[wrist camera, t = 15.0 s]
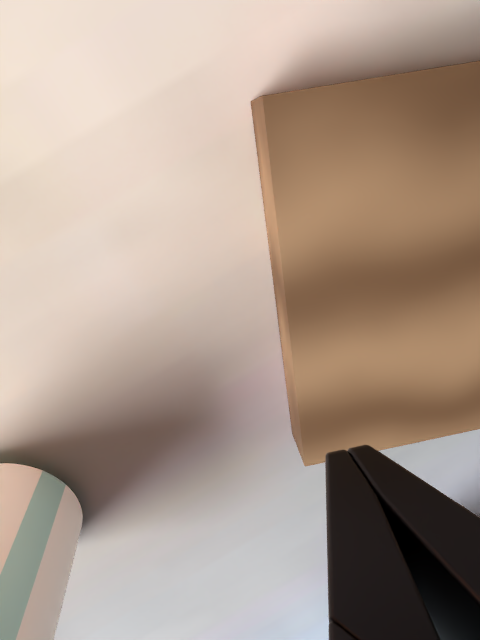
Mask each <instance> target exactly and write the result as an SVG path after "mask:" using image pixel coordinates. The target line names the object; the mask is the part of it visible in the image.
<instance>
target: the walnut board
mask: <svg viewBox="0 0 480 640" xmlns="http://www.w3.org/2000/svg"><path fill="white" fill-rule="evenodd" d="M251 107H252V115H253V123H254V131H255V139H256V147H257V155H258V163H259V171H260V179H261V187H262V195H263V203H264V211H265V219H266V227H267V235H268V243H269V251H270V259H271V267H272V275H273V283H274V291H275V299H276V307H277V315H278V323H279V331H280V339H281V347H282V355H283V363H284V371H285V379H286V387H287V395H288V403H289V411H290V419H291V427H292V434H293V437H294V439H295V442H296V444H297V447H298V450H299V452H300V455H301V458H302V460H303V463H304V465H305V466H310V465H314V464H319V463H323V462H325V456H326V454H327V453H329V452H333V451H338V450H342V449H344V450H346V451H347V450H348V449H349V448H352V447H356V446H361V445H369V446H371V447H373V448H374V449H376V450H377V451H379V450H384V449H388V448H393V447H398V446H402V445H407V444H412V443H416V442H421V441H426V440H430V439H435V438H439V437H444V436H449V435H453V434H458V433H463V432H467V431H472V430H477V429H480V61H475V62H469V63H463V64H456V65H450V66H444V67H438V68H432V69H425V70H419V71H413V72H407V73H401V74H394V75H388V76H382V77H376V78H370V79H364V80H357V81H351V82H345V83H339V84H333V85H326V86H320V87H314V88H308V89H302V90H295V91H289V92H283V93H277V94H271V95H264V96H261V97H259V98H257V99H255V100H253V101H251Z"/></svg>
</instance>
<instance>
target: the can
mask: <svg viewBox="0 0 480 640" xmlns="http://www.w3.org/2000/svg"><path fill="white" fill-rule="evenodd" d="M82 521H83V515H82V509H81V506H80V503H79V501H78V499H77V497H76V496H75V494H74V493H73V492H72V490H71V489H70V488H69V487H68V486H67V485H66V484H65V483H63V482H62V481H61V480H59V479H58V478H56V477H55V476H53V475H51V474H49V473H47V472H45V471H43V470H40V469H37V468H34V467H30V466H26V465H20V464H11V463H0V640H54V636H55V632H56V628H57V624H58V620H59V616H60V612H61V608H62V604H63V600H64V596H65V592H66V588H67V584H68V580H69V576H70V572H71V567H72V563H73V559H74V555H75V551H76V547H77V543H78V539H79V535H80V531H81V527H82Z"/></svg>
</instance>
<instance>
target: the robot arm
mask: <svg viewBox="0 0 480 640" xmlns="http://www.w3.org/2000/svg"><path fill="white" fill-rule="evenodd" d="M325 464H326V511H327V558H328V605H329V640H480V518H479V517H478V516H476V515H475V514H473V513H472V512H470V511H469V510H467V509H466V508H464V507H463V506H461V505H460V504H458V503H457V502H455V501H454V500H452V499H450V498H449V497H447V496H446V495H444V494H443V493H441V492H440V491H438V490H437V489H435V488H434V487H432V486H431V485H429V484H428V483H426V482H425V481H423V480H422V479H420V478H418V477H417V476H415V475H414V474H412V473H411V472H409V471H408V470H406V469H405V468H403V467H402V466H400V465H399V464H397V463H396V462H394V461H393V460H391V459H390V458H388V457H386V456H385V455H383V454H382V453H380V452H379V451H377V450H376V449H374V448H373V447H371V446H369V445H361V446H356V447H352V448H349V449H348V450H347V451H346V450H344V449H342V450H338V451H333V452H329V453H327V454H326V456H325Z"/></svg>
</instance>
